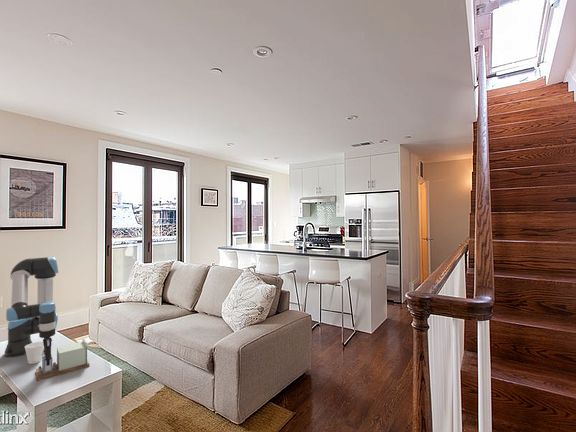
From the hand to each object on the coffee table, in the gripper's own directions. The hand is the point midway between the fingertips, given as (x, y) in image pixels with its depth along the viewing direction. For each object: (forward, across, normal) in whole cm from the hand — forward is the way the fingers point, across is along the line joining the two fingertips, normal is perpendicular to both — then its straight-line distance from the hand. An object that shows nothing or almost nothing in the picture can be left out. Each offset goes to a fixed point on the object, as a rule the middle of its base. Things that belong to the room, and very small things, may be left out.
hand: (47, 368), depth 182 cm
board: (+3, 0, +8) cm, 8 cm away
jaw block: (+1, 0, 0) cm, 1 cm away
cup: (+3, -23, -5) cm, 24 cm away
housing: (+1, 0, +12) cm, 12 cm away
